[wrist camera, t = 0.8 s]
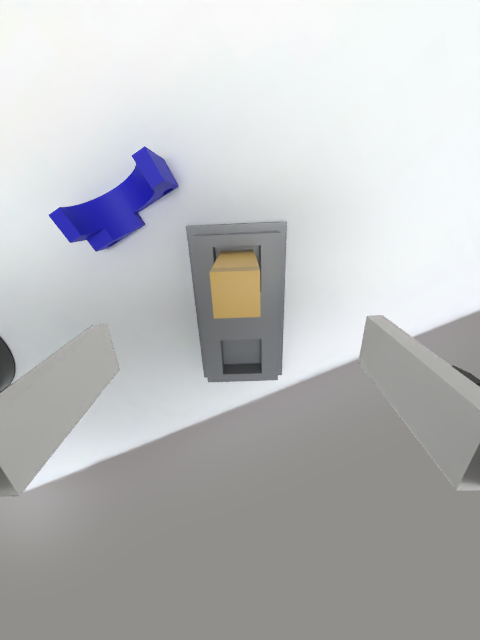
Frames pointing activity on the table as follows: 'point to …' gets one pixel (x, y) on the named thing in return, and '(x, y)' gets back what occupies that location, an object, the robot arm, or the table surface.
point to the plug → (235, 285)
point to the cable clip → (117, 205)
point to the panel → (249, 332)
